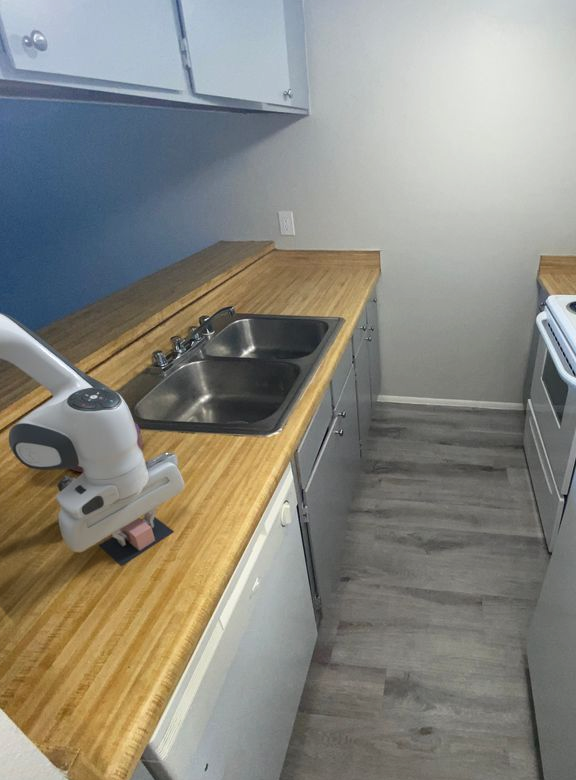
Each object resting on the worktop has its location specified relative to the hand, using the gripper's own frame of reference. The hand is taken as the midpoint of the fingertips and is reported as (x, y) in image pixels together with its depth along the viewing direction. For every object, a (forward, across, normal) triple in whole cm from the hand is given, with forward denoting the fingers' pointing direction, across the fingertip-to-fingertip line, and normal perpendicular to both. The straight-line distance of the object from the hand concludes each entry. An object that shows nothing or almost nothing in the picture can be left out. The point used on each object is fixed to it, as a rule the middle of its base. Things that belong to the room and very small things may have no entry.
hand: (136, 535), depth 87 cm
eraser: (+1, 0, 0) cm, 1 cm away
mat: (+1, 0, 0) cm, 1 cm away
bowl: (+1, -10, -31) cm, 33 cm away
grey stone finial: (+2, +4, -12) cm, 13 cm away
